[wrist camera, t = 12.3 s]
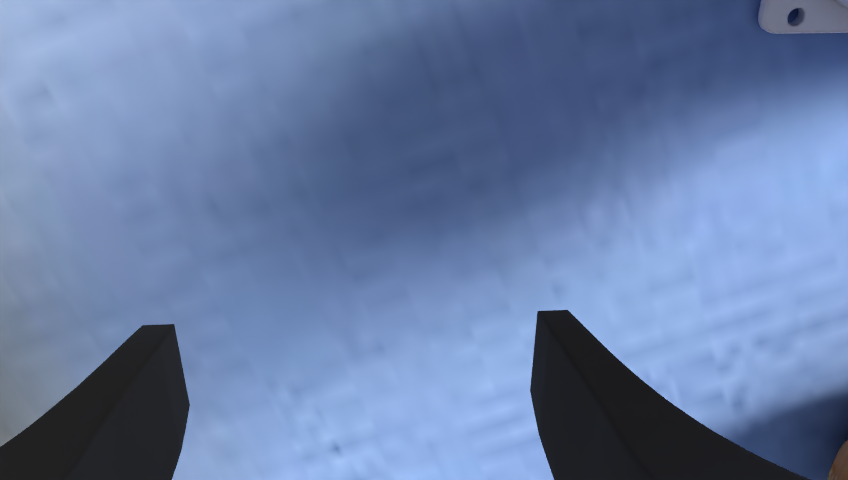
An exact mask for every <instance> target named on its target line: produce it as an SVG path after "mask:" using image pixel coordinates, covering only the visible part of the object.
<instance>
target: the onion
mask: <svg viewBox="0 0 848 480" xmlns="http://www.w3.org/2000/svg"><path fill="white" fill-rule="evenodd" d="M827 480H848V440H847V441H846V442H845V443H844V444H843V445H842V446H841V448H840V449H839V451H838V453H837V455H836V457H835V459H834V462H833V464H832V466H831V469H830V471H829V474H828V478H827Z"/></svg>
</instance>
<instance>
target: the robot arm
mask: <svg viewBox="0 0 848 480" xmlns="http://www.w3.org/2000/svg"><path fill="white" fill-rule="evenodd" d="M796 8H798V16H797V18H796V19H795V20H794V21H793V22H790V23H788V15H789V13H790V12H791V11H792V10H793V9H796ZM758 22H759V25H760V27H761V28H763V29H764V30H765V31H767V32H769V33H774V34H798V33H848V0H761V4H760V9H759V13H758ZM530 391H531V397H532V402H533V407H534V412H535V417H536V422H537V427H538V432H539V436H540V439H541V442H542V445H543V448H544V451H545V454H546V457H547V460H548V463H549V466H550V469H551V472H552V474H553V477H554V480H810V479H808V478H805V477H803V476H800V475H798V474H796V473H793V472H791V471H789V470H787V469H785V468H783V467H780V466H778V465H776V464H774V463H772V462H770V461H767V460H765V459H763V458H761V457H759V456H757V455H755V454H754V453H752V452H750V451H748V450H746V449H744V448H742V447H740V446H738V445H737V444H735V443H733V442H731V441H730V440H728V439H726V438H724V437H723V436H721V435H719V434H717V433H716V432H714V431H712V430H711V429H709V428H707V427H706V426H704V425H703V424H701V423H699V422H698V421H696V420H695V419H694V418H692V417H691V416H689V415H688V414H686V413H685V412H683V411H682V410H680V409H679V408H677V407H676V406H674V405H673V404H672V403H670V402H669V401H668V400H666V399H665V398H664V397H662V396H661V395H660V394H658V393H657V392H656V391H655V390H653V389H652V388H651V387H650V386H649V385H647V384H646V383H645V382H644V381H642V380H641V379H640V378H639V377H638V376H636V375H635V374H634V373H633V372H632V371H631V370H629V369H628V368H627V367H626V366H625V365H624V364H623V363H622V362H620V361H619V360H618V359H617V358H616V357H615V356H614V355H613V354H612V353H611V352H610V351H609V350H608V349H607V348H606V347H605V346H603V345H602V344H601V343H600V342H599V341H598V340H597V339H596V338H595V337H594V336H593V335H592V334H591V333H590V332H589V331H588V330H587V329H586V328H585V327H584V326H583V325H582V324H581V323H580V322H579V321H578V320H577V319H576V318H575V317H574V316H573V315H572V314H571V313H570V312H569V311H568V310H555V311H538V313H537V324H536V335H535V345H534V356H533V367H532V378H531V389H530ZM189 406H190V404H189V399H188V394H187V389H186V383H185V378H184V373H183V368H182V363H181V357H180V352H179V347H178V342H177V336H176V331H175V326H174V324H167V325H142V326H141V327H140V328H139V329H138V330H137V331H136V332H135V333H134V334H133V335H131V336H130V337H129V338H128V339H127V340H126V341H125V342H124V343H123V344H122V345H121V346H120V347H119V348H118V349H117V350H116V351H115V352H114V353H113V354H112V355H111V356H110V357H109V358H108V359H106V360H105V361H104V362H103V363H102V364H101V365H100V366H99V367H98V368H97V369H96V370H95V371H94V372H93V373H91V374H90V375H89V376H88V377H87V378H86V379H85V380H84V381H83V382H82V383H81V384H80V385H78V386H77V387H76V388H75V389H74V390H73V391H71V392H70V393H69V394H68V395H67V396H65V397H64V398H63V399H62V400H61V401H60V402H58V403H57V404H56V405H55V406H54V407H52V408H51V409H50V410H49V411H48V412H46V413H45V414H44V415H43V416H42V417H40V418H39V419H38V420H37V421H35V422H34V423H33V424H32V425H30V426H29V427H28V428H26V429H25V430H24V431H22V432H21V433H20V434H18V435H17V436H15V437H14V438H13V439H11V440H10V441H8V442H7V443H5V444H4V445H3V446H1V447H0V480H172V477H173V474H174V471H175V468H176V465H177V462H178V459H179V456H180V453H181V449H182V444H183V439H184V434H185V429H186V423H187V417H188V412H189Z"/></svg>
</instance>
